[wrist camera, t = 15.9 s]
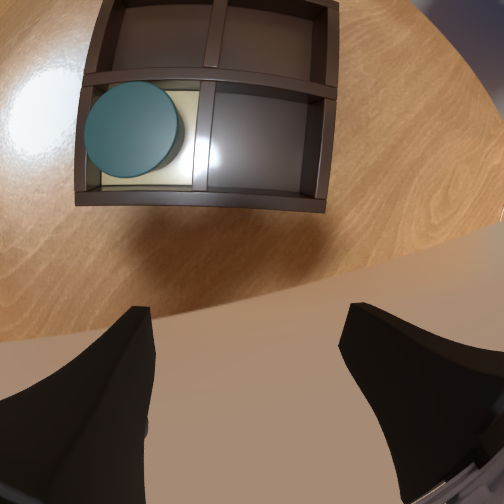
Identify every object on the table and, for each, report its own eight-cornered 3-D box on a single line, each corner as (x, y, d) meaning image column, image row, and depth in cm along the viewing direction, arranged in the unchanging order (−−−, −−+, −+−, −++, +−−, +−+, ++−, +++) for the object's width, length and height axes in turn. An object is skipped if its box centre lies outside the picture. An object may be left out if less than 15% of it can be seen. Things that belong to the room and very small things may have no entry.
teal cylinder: (182, 172, 15) (174, 178, 11) (111, 172, 14) (81, 180, 10) (188, 99, 14) (183, 79, 10) (116, 101, 13) (88, 85, 9)
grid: (306, 204, 18) (325, 213, 15) (93, 197, 15) (74, 206, 12) (321, 18, 13) (339, 2, 10) (119, 4, 10) (108, -16, 8)
